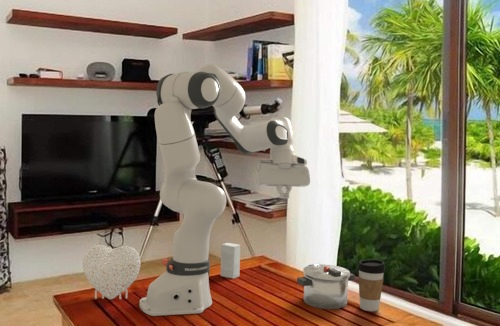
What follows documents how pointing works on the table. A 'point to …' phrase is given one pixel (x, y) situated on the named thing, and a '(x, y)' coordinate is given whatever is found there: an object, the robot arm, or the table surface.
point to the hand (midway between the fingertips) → (284, 198)
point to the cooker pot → (325, 292)
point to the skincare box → (230, 260)
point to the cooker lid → (326, 272)
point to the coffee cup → (370, 283)
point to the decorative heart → (111, 269)
